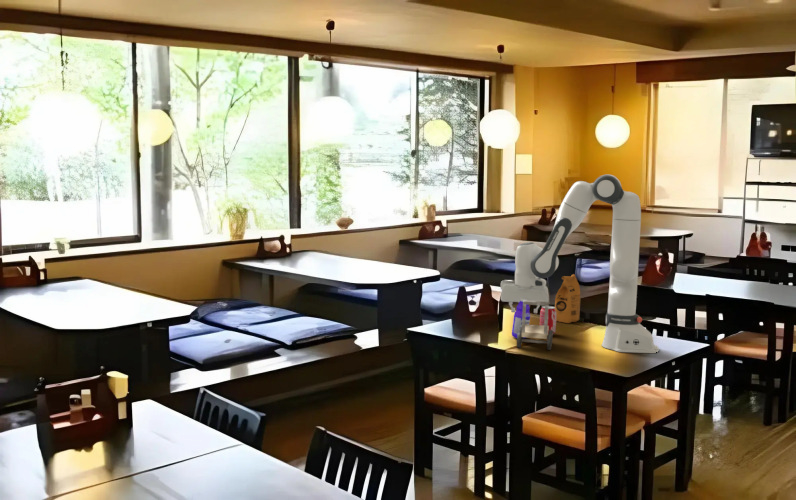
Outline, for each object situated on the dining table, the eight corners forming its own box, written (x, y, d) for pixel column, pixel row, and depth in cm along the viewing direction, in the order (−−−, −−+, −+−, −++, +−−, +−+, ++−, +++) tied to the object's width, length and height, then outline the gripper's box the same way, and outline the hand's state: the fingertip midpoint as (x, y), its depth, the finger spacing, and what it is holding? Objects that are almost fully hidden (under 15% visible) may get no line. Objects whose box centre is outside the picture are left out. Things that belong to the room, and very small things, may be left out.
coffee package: (550, 320, 376) (552, 275, 374) (564, 317, 385) (566, 273, 383) (568, 324, 370) (570, 277, 367) (582, 320, 379) (584, 275, 376)
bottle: (518, 340, 333) (524, 300, 330) (508, 336, 337) (514, 296, 334) (529, 338, 338) (535, 298, 335) (519, 334, 342) (525, 295, 339)
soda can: (554, 332, 350) (555, 305, 349) (556, 336, 343) (557, 308, 342) (538, 331, 351) (539, 305, 349) (539, 335, 344) (541, 308, 343)
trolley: (552, 342, 330) (554, 296, 328) (550, 351, 314) (552, 302, 312) (519, 340, 333) (521, 294, 331) (516, 348, 317) (518, 300, 315)
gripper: (499, 280, 334) (499, 312, 335) (548, 282, 329) (548, 315, 330) (501, 278, 340) (500, 310, 341) (549, 280, 335) (548, 312, 337)
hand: (524, 312), depth 336 cm, fingers open, 8 cm apart
